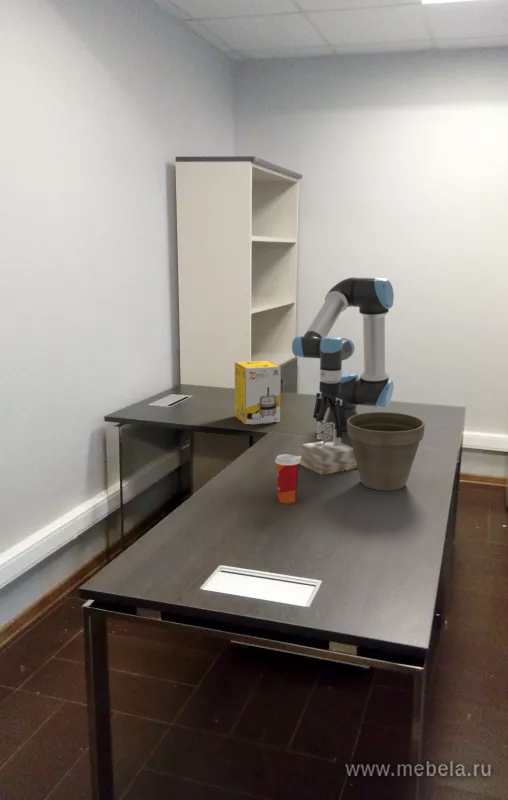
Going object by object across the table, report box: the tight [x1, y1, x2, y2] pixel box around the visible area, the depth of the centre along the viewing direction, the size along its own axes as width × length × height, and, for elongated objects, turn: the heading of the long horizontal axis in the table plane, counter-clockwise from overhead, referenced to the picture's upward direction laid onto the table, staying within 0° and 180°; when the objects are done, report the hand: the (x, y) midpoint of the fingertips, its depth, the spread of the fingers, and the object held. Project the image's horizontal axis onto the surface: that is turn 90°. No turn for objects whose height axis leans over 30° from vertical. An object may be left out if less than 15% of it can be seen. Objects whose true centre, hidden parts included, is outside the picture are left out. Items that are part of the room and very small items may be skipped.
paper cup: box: [274, 453, 300, 505], centre depth 217 cm, size 8×8×14 cm
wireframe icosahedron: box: [315, 420, 344, 444], centre depth 252 cm, size 9×8×10 cm
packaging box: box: [234, 360, 282, 425], centre depth 315 cm, size 16×16×25 cm
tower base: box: [297, 440, 358, 476], centre depth 254 cm, size 18×18×6 cm
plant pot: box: [346, 411, 426, 492], centre depth 232 cm, size 25×25×22 cm
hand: (328, 442), depth 253 cm, fingers closed on wireframe icosahedron, 10 cm apart
